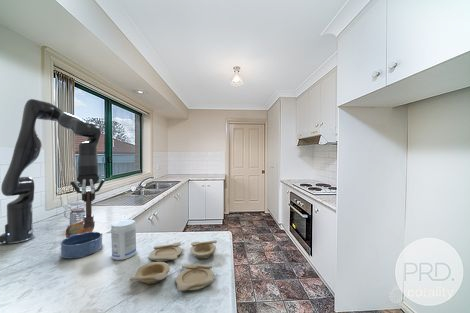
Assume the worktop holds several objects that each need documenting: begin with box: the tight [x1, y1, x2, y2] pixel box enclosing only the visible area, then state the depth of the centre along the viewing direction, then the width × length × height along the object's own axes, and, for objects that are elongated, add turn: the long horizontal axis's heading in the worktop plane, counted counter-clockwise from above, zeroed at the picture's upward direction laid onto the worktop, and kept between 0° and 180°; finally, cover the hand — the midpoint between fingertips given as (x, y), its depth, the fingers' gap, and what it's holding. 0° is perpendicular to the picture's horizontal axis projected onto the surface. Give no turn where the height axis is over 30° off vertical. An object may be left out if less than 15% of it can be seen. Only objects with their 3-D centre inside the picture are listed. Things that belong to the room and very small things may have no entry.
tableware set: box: [129, 239, 218, 293], centre depth 81 cm, size 35×29×4 cm
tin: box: [64, 219, 95, 239], centre depth 110 cm, size 15×3×8 cm, turn 168°
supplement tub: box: [110, 218, 137, 261], centre depth 90 cm, size 10×10×15 cm
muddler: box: [83, 189, 96, 228], centre depth 95 cm, size 4×4×17 cm
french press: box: [63, 185, 86, 228], centre depth 128 cm, size 10×12×25 cm
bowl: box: [60, 231, 103, 259], centre depth 94 cm, size 15×15×6 cm
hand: (88, 201), depth 95 cm, fingers closed on muddler, 2 cm apart
